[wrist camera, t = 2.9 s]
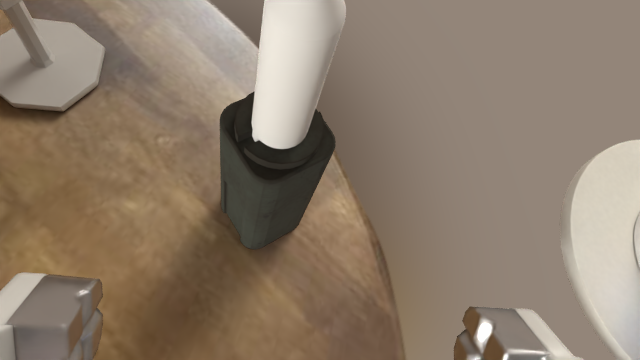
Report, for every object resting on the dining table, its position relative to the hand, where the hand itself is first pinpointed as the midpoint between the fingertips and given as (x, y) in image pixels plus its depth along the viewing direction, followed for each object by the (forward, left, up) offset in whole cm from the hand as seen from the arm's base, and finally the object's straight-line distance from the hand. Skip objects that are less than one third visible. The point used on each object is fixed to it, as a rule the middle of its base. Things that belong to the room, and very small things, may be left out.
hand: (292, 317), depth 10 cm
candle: (+2, -10, -23) cm, 26 cm away
